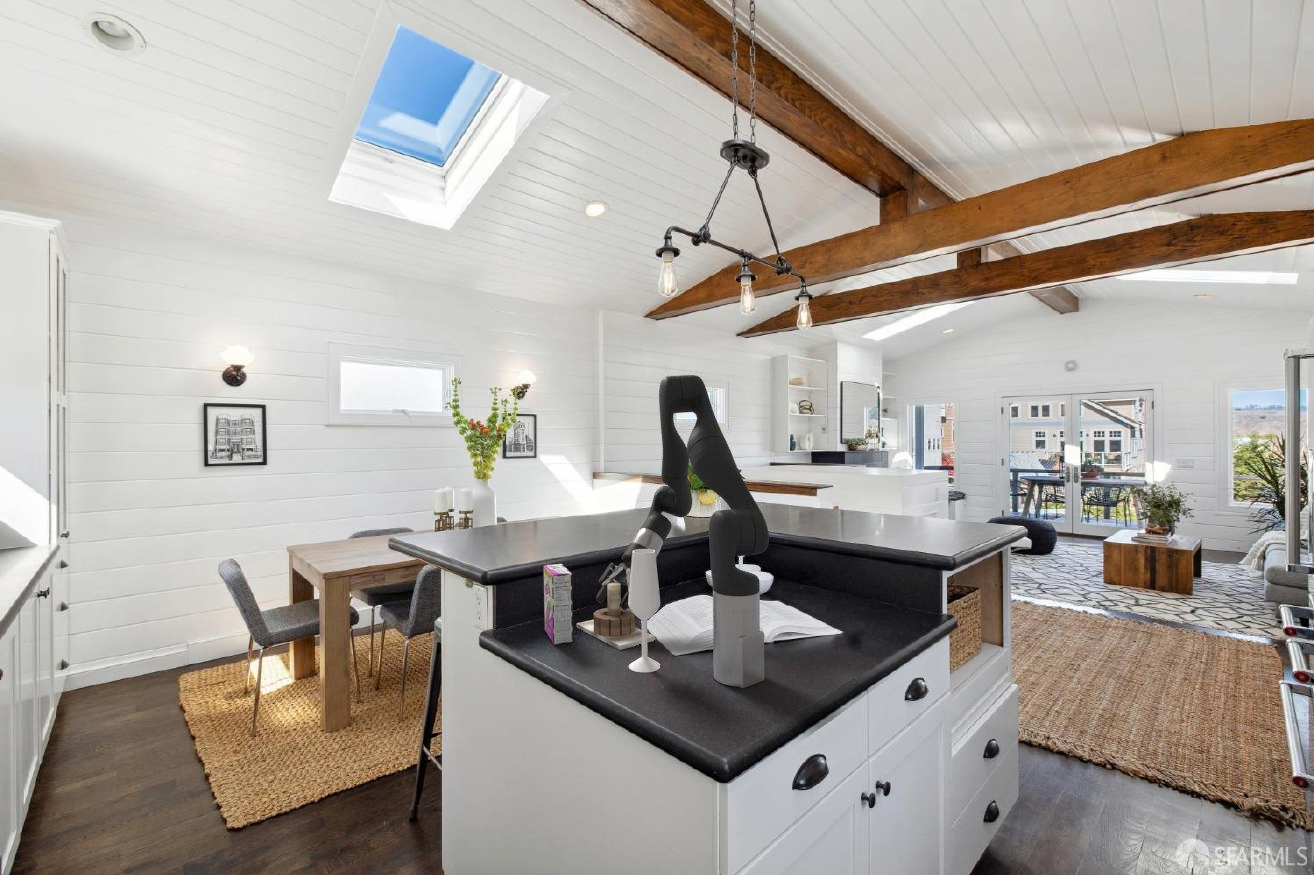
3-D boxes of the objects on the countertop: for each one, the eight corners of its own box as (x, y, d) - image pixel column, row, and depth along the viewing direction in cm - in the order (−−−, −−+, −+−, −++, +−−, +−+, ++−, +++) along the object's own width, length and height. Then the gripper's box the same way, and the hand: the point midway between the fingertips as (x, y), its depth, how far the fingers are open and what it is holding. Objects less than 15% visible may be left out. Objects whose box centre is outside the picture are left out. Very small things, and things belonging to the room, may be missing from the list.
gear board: (655, 640, 137) (655, 619, 137) (619, 649, 131) (619, 627, 131) (609, 619, 153) (609, 600, 153) (576, 627, 147) (576, 607, 147)
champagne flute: (666, 663, 123) (665, 549, 123) (649, 675, 117) (648, 555, 117) (640, 657, 126) (639, 547, 126) (622, 668, 121) (621, 552, 121)
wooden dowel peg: (623, 629, 142) (623, 584, 142) (612, 632, 140) (612, 586, 140) (616, 626, 144) (616, 582, 145) (605, 629, 143) (605, 584, 143)
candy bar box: (543, 631, 145) (542, 564, 145) (563, 628, 147) (562, 563, 147) (552, 645, 134) (551, 574, 134) (573, 642, 136) (573, 572, 136)
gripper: (616, 538, 153) (582, 590, 144) (655, 544, 143) (622, 601, 134) (631, 555, 156) (598, 607, 148) (670, 563, 147) (638, 619, 138)
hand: (610, 604), depth 141 cm, fingers open, 8 cm apart
